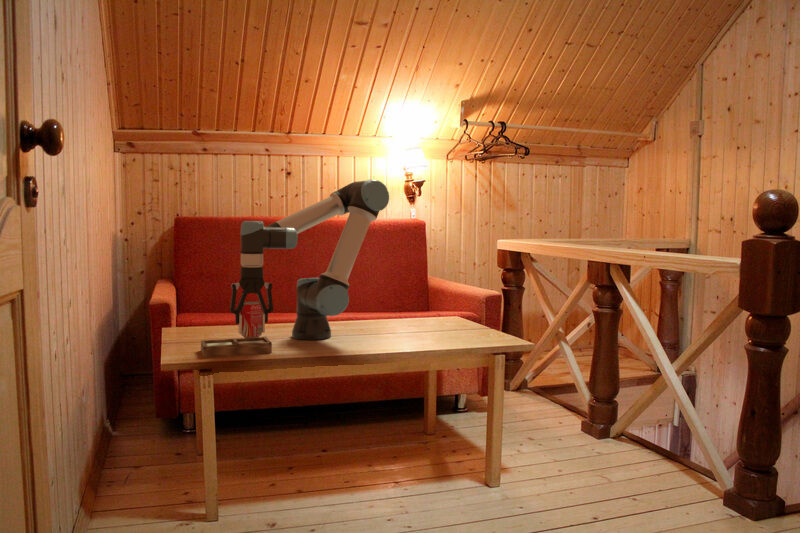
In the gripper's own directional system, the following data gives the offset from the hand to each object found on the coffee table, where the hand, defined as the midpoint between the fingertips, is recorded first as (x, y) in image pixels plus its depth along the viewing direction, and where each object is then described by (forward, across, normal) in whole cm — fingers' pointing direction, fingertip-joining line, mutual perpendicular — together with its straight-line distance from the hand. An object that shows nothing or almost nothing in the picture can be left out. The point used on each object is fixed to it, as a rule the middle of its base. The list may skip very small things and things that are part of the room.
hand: (251, 332), depth 194 cm
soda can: (+2, 0, 0) cm, 2 cm away
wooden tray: (+6, +5, 0) cm, 8 cm away
